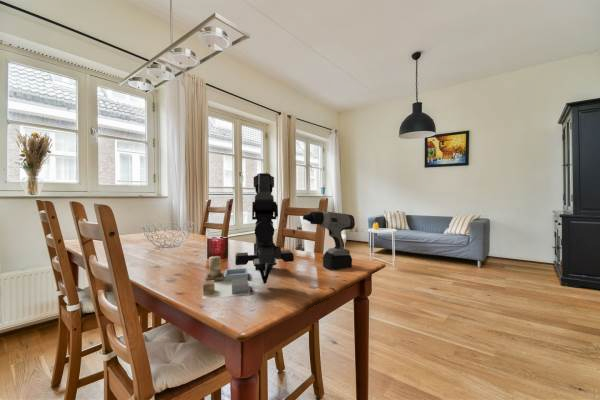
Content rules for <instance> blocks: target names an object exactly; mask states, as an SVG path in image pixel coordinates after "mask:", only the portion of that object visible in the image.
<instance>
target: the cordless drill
mask: <svg viewBox="0 0 600 400" xmlns="http://www.w3.org/2000/svg"><path fill="white" fill-rule="evenodd" d="M302 219H303V220H304V221H307V222H309V224H311V225H318V226H320V227H321V228H323V229H327V231H328V236H329V237H331V238H332V239H333V242H334V244H335V245H334V247H333V248H332V247H331V248H328V249H327V250H326V251H325V253H324V254H323V256H322V266H323V268H324V269H326V270H329V271H337V270H344V269H345V270H346V269H352V268H353V258H352V255H351V254H350V253H351V252H350V250H349V249H347V248H345V242H344V240H343V237H342V231H345V230H354V228H355V225H356V222H355V217H354V216H353V215H352V214H349V213H348V214H347V213H343V212H342V213H341V212H331V211H313V210H312V211H311V212H310V213H307V214H303V216H302Z"/></svg>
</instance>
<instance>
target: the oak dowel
mask: <svg viewBox="0 0 600 400" xmlns="http://www.w3.org/2000/svg"><path fill="white" fill-rule="evenodd" d="M221 258H222V257H221V256H218V255H216V256H215V255H213V256H210V257H208V267H209V268H208V269H209V271H208V273H209V278H210V277H221V273H222V267H221V264H222V263H221Z"/></svg>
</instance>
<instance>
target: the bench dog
mask: <svg viewBox="0 0 600 400" xmlns="http://www.w3.org/2000/svg"><path fill="white" fill-rule="evenodd" d="M202 285H203V286H202V293H203V295H211V294H214V280H208V281H206V280H204V281H203V284H202ZM203 295H202V296H203Z"/></svg>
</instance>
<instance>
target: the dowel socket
mask: <svg viewBox="0 0 600 400" xmlns="http://www.w3.org/2000/svg"><path fill="white" fill-rule="evenodd" d="M224 274H225V271H223V272H222V271H221V277H210V278H209V272H208V273H207V274H206V277H205V281H208V280H214V282H219V281H224Z"/></svg>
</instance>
